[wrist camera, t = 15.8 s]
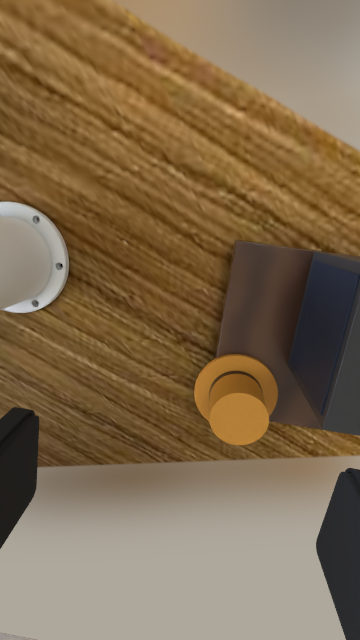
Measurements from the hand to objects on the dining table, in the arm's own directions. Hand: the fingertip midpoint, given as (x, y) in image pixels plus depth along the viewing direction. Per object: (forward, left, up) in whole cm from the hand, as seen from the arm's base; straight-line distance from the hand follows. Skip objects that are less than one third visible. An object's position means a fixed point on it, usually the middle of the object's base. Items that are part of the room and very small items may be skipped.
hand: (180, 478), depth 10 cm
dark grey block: (+13, 0, -26) cm, 29 cm away
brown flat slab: (+10, -3, -30) cm, 31 cm away
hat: (+5, -10, -26) cm, 28 cm away
